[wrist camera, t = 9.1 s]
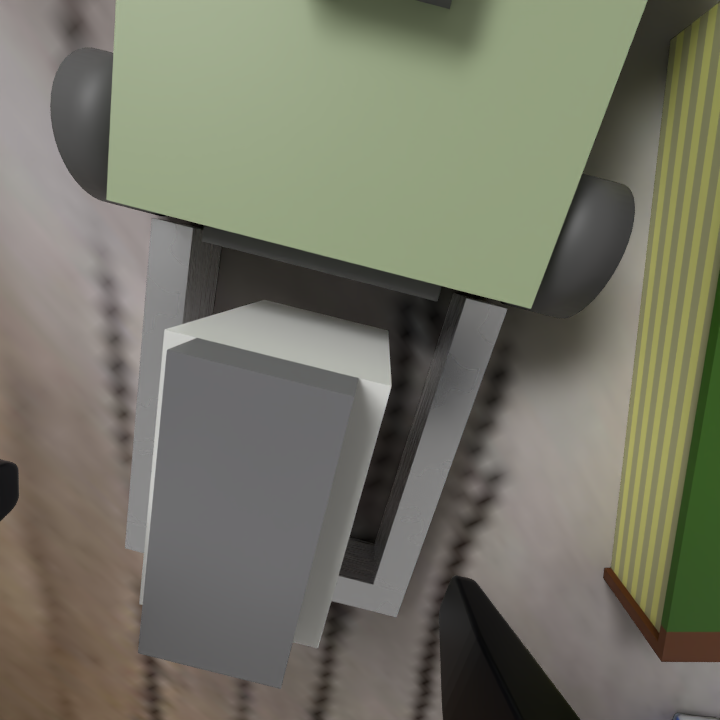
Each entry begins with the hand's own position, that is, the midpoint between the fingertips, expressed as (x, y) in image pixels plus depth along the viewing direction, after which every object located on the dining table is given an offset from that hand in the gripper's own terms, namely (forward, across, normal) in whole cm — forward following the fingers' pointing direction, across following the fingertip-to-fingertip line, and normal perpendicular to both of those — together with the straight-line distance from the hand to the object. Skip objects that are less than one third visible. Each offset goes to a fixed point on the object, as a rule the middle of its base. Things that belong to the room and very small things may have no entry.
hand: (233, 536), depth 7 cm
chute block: (+7, 0, 0) cm, 7 cm away
